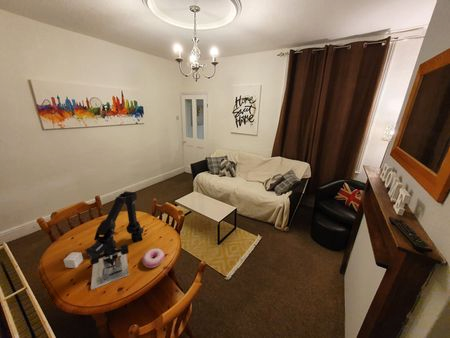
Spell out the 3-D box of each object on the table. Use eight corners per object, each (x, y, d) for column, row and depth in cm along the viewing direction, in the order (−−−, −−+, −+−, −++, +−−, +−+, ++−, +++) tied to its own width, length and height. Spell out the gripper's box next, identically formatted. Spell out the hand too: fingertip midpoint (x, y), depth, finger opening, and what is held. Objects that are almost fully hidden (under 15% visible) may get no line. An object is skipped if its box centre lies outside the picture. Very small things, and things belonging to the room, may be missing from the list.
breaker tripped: (120, 260, 112) (119, 255, 111) (121, 265, 109) (120, 260, 108) (115, 262, 111) (114, 257, 110) (115, 267, 108) (114, 262, 107)
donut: (155, 272, 108) (154, 266, 106) (137, 265, 112) (136, 259, 110) (169, 256, 120) (168, 250, 118) (153, 250, 124) (152, 244, 122)
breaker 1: (109, 257, 114) (108, 253, 113) (109, 262, 111) (108, 257, 110) (103, 259, 113) (102, 254, 111) (103, 264, 109) (102, 259, 108)
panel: (126, 252, 121) (126, 250, 121) (129, 275, 105) (128, 273, 105) (93, 262, 112) (93, 260, 112) (91, 289, 96) (90, 287, 96)
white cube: (65, 267, 108) (63, 259, 106) (73, 259, 114) (71, 252, 112) (75, 267, 108) (73, 260, 106) (83, 259, 114) (81, 252, 112)
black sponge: (88, 260, 114) (87, 255, 113) (86, 252, 120) (85, 248, 119) (117, 247, 125) (116, 243, 124) (113, 241, 131) (113, 236, 130)
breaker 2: (109, 271, 105) (108, 267, 103) (109, 277, 101) (108, 272, 100) (103, 274, 103) (102, 269, 102) (103, 279, 100) (101, 274, 99)
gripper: (125, 230, 115) (128, 250, 120) (89, 240, 105) (94, 260, 110) (127, 242, 106) (130, 262, 111) (87, 253, 96) (93, 275, 101)
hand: (112, 264), depth 108 cm, fingers closed
